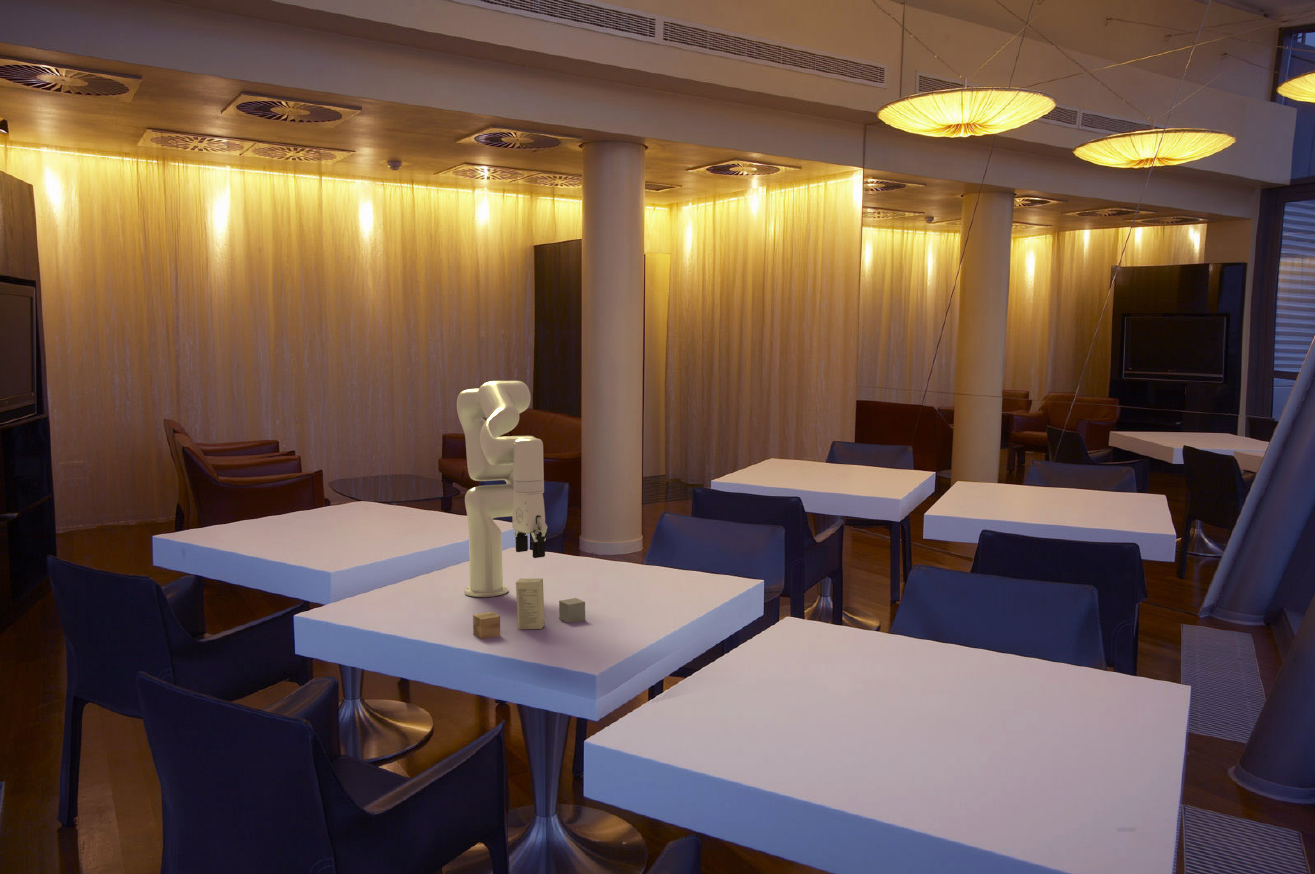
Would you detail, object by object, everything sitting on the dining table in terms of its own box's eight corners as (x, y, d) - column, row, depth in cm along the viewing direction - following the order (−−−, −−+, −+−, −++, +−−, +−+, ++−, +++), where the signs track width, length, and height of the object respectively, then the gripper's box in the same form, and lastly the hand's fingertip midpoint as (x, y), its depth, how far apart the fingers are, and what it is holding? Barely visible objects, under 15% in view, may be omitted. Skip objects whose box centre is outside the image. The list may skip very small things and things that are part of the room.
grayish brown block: (559, 619, 237) (559, 600, 236) (576, 616, 240) (575, 597, 239) (568, 623, 233) (568, 604, 232) (585, 620, 235) (585, 601, 235)
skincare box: (545, 624, 231) (544, 578, 230) (541, 629, 227) (540, 582, 226) (520, 624, 232) (519, 577, 231) (516, 629, 228) (515, 581, 227)
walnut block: (473, 634, 223) (472, 614, 223) (492, 631, 226) (491, 611, 226) (481, 639, 219) (480, 619, 219) (500, 635, 222) (500, 616, 222)
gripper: (500, 485, 232) (502, 550, 233) (530, 491, 217) (531, 561, 218) (527, 483, 236) (528, 547, 237) (558, 489, 222) (559, 557, 223)
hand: (530, 554), depth 228 cm, fingers open, 9 cm apart
